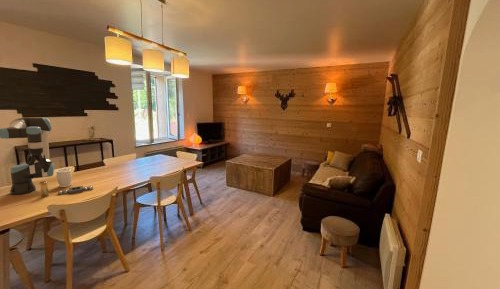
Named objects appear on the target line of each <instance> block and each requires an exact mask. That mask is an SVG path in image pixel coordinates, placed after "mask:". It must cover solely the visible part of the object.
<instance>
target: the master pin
mask: <svg viewBox="0 0 500 289" xmlns="http://www.w3.org/2000/svg"><path fill="white" fill-rule="evenodd" d="M39 185H40V191H41V192H40V193H41V197H42V198H45V197H46V198H47V197H49V190H48V180H43V181H40V182H39Z"/></svg>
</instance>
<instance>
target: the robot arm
mask: <svg viewBox="0 0 500 289" xmlns="http://www.w3.org/2000/svg"><path fill="white" fill-rule="evenodd" d="M52 130H53V129H52V125H51V121H50V119H49V118H48V117H29V116H28V117H20V118H16V119H14V120H12V121H10V123H9V125H8V126H7V128H6V127H0V139H6V140H7V139H9V140H10V139H27V147H28V154H27V156H28V157H27V160H26V163H20V164H17V165H14V166H12V167H10V178H11V186H10V190H9V194H10V195H14V196H19V195H25V194H29V193H34V192H35V191H36V190H37V188H36V185H35V184H34V182H33V179H40V178H41V179H42V178H49V177H53V176H54V173H55V163H53V161H52V160H51V159H50V148H49V144H50V143H49V134H50V133H51V132H50V131H52Z"/></svg>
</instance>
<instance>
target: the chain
mask: <svg viewBox="0 0 500 289" xmlns="http://www.w3.org/2000/svg"><path fill="white" fill-rule="evenodd" d="M92 190H94V188H93V185H88V186H83V185H80V186H79V185H77V186H72V187H68V189H66V188H65V189H63V190H62V189H59V190H58V191H57V195H68V194H69V195H72V194H78V193H79V194H80V193H83V192H87V191H92Z"/></svg>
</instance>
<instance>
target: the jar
mask: <svg viewBox="0 0 500 289" xmlns="http://www.w3.org/2000/svg"><path fill="white" fill-rule="evenodd" d="M71 171H72V169H70V168H63V169H58V170H56V180H57V183H58V185H59V186H58V187H59V188H66V187H67V188H69V187H70V186H71V185H72V184H71V182H72V178H73V174H72V172H71Z"/></svg>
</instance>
